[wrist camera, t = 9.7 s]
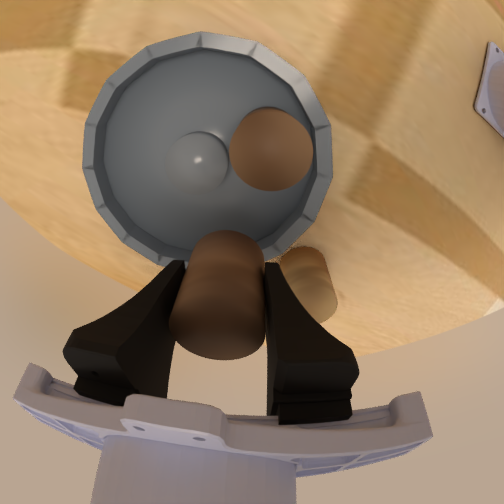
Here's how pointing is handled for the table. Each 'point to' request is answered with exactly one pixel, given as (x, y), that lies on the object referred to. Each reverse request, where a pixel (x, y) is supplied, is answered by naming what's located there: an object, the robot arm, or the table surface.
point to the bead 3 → (310, 281)
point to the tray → (198, 147)
